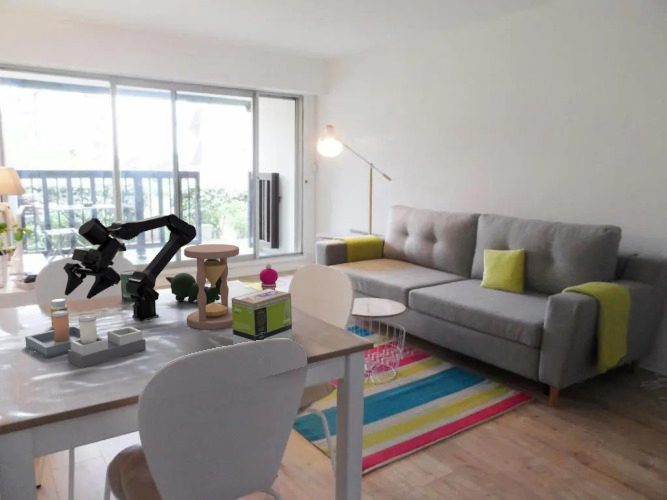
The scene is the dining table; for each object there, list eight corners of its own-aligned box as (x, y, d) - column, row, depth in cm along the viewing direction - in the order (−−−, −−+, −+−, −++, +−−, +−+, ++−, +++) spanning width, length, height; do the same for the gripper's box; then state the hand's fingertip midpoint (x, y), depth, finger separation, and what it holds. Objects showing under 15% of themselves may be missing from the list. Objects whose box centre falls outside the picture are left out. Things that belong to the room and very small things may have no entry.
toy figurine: (229, 305, 196) (171, 295, 202) (232, 257, 193) (173, 248, 199) (217, 312, 187) (157, 301, 193) (220, 262, 184) (159, 252, 190)
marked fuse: (71, 340, 148) (69, 310, 147) (68, 344, 144) (66, 313, 143) (55, 341, 147) (53, 311, 146) (52, 346, 143) (50, 315, 142)
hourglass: (213, 333, 159) (211, 254, 155) (175, 323, 168) (172, 248, 164) (251, 319, 173) (250, 246, 169) (214, 311, 182) (212, 242, 179)
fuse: (93, 345, 138) (91, 313, 136) (101, 349, 135) (99, 316, 134) (77, 349, 134) (75, 316, 133) (85, 353, 132) (82, 320, 130)
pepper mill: (284, 322, 170) (284, 263, 167) (267, 327, 165) (267, 266, 161) (270, 318, 175) (269, 261, 171) (253, 322, 169) (252, 263, 166)
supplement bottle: (61, 328, 162) (59, 302, 161) (48, 327, 163) (46, 301, 162) (71, 323, 167) (70, 298, 165) (59, 322, 168) (57, 297, 166)
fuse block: (132, 343, 148) (131, 325, 147) (145, 349, 144) (144, 330, 143) (68, 361, 134) (67, 341, 134) (81, 368, 130) (79, 347, 129)
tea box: (269, 333, 159) (269, 287, 157) (292, 340, 153) (292, 292, 150) (231, 346, 147) (230, 296, 145) (255, 354, 141) (254, 302, 139)
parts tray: (76, 334, 156) (75, 325, 155) (98, 344, 147) (97, 334, 147) (26, 346, 145) (25, 336, 144) (47, 358, 136) (46, 347, 136)
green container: (122, 298, 199) (121, 270, 198) (144, 297, 202) (142, 269, 200) (120, 303, 192) (119, 274, 190) (143, 302, 194) (141, 273, 192)
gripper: (66, 236, 157) (35, 278, 149) (110, 240, 150) (81, 284, 142) (89, 257, 166) (61, 298, 158) (132, 262, 158) (105, 305, 150)
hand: (76, 296), depth 152 cm, fingers open, 9 cm apart
